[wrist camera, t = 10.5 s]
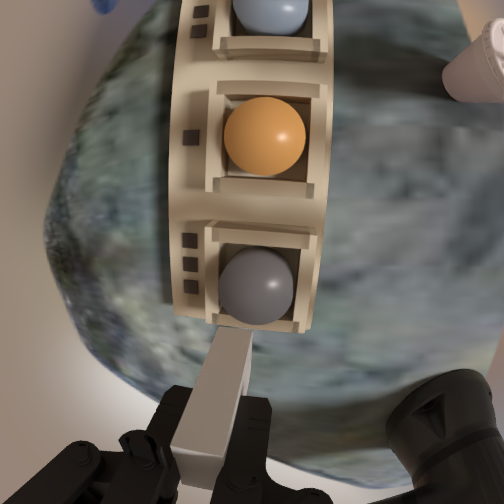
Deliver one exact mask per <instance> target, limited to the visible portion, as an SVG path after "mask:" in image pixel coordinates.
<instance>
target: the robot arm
mask: <svg viewBox="0 0 504 504" xmlns="http://www.w3.org/2000/svg"><path fill="white" fill-rule="evenodd" d="M252 335H253V330H246V329H237V328H229V327H221V326H219V328H218V330H217V332H216V335H215V337H214V340H213V342H212V345H211V347H210V349H209V352H208V354H207V357H206V359H205V361H204V364H203V366H202V369H201V371H200V374H199V376H198V378H197V381H196V383H195V386H194V388H188V387H183V386H178V385H174V386H172V387H171V388H170V389H169V390H167V391H166V392H165V393H164V395H163V397H162V399H161V401H160V405H158V407H157V409H156V412H155V413H154V415H153V417H152V419H151V421H150V423H149V425H148V427H147V429H146V430H133V431H129V432H127V433H125V434H123V435H122V436H121V437H120V439H119V442H120V445H121V447H122V449H123V452H111V451H100V450H98V448H97V447H96V446H95V445H94V444H92V443H90V442H88V441H81V440H80V441H76V442H73V443H71V444H70V445H68V446H67V447H66V448H65V449H64V450H62V451H61V452H60V453H59V454H58V455H57V456H56V457H55V458H54V459H52V460H51V461H50V462H49V463H48V464H47V465H46V466H45V467H44V468H42V469H41V470H40V471H39V472H38V473H37V474H36V475H35V476H33V477H32V478H31V479H30V480H29V481H28V482H27V483H25V484H24V485H23V486H22V487H21V488H20V489H19V490H18V491H16V492H15V493H14V494H13V495H12V496H11V497H10V498H8V499H7V500H6V501H5V502H4V503H3V504H176V501H177V498H178V491H177V487H178V484H179V481H180V479H181V482H182V484H184V485H189V486H193V487H198V488H202V489H208V490H213V493H212V497H211V501H210V504H333V501H332V500H331V498H330V496H329V495H328V494H326V493H325V492H323V491H322V490H319V489H315V488H304V489H301V490H298V491H297V490H294V489H290V488H287V487H285V486H282V485H280V484H278V483H276V482H275V481H273V480H272V479H271V478H270V476H269V475H268V473H267V471H266V457H267V449H268V440H269V431H270V423H271V414H272V408H271V405H270V403H269V401H268V398H261V397H252V396H246V393H247V388H248V384H249V379H250V369H251V352H252ZM386 434H387V438H388V442H389V446H390V448H391V450H392V451H393V452H394V453H395V454H396V456H397V457H398V459H399V460H400V462H401V463H402V464H403V466H404V467H405V468H406V470H407V471H408V472H409V474H410V475H411V478H412V482H413V487H414V490H411V491H409V492H406V493H403V494H399V495H396V496H393V497H390V498H386V499H383V500H380V501H376V502H373V503H369V504H504V440H503V438H502V436H501V435H500V433H499V431H498V428H497V426H496V418H495V412H494V408H493V404H492V393H491V389H490V386H489V385H488V383H487V382H486V380H485V378H484V377H483V375H482V374H481V373H479V372H477V371H475V370H458V371H454V372H450V373H447V374H444V375H442V376H440V377H438V378H435V379H433V380H432V381H430V382H428V383H426V384H425V385H423V386H421V387H420V388H418V389H417V390H416V391H414V392H413V393H412V394H410V395H409V396H408V397H407V398H406V399H405V400H404V401H403V402H402V403H401V404H400V405H399V406H398V407H397V408H396V409H395V411H394V412H393V413H392V415H391V417H390V418H389V421H388V423H387V427H386Z"/></svg>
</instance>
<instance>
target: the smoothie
mask: <svg viewBox="0 0 504 504" xmlns="http://www.w3.org/2000/svg"><path fill="white" fill-rule="evenodd" d="M442 81H443V84H444V87H445V89H446V91H447V92H448V93H449V95H450V96H451V97H453V98H454V99H455V100H457V101H459V102H491V103H504V18H498V19H495V20H493V21H490V22H488V23H487V24H486V25H485V26H484V29H483V31H482V35H480V36H479V37H478V38H477V39H476V40H475V41H474V42H472V43H471V44H470V45H469V46H468V47H467V48H466V49H465V50H463V51H462V52H461V53H460V54H459V55H458V56H457V57H456V58H455V59H453V60H452V61H451V62H450V63H449V64H448V65H447V66H446V67H445V68H444V69H443V72H442Z"/></svg>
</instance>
